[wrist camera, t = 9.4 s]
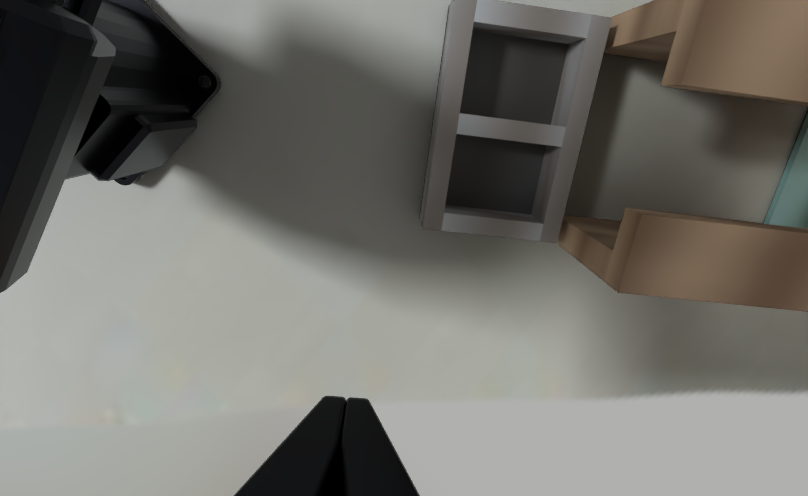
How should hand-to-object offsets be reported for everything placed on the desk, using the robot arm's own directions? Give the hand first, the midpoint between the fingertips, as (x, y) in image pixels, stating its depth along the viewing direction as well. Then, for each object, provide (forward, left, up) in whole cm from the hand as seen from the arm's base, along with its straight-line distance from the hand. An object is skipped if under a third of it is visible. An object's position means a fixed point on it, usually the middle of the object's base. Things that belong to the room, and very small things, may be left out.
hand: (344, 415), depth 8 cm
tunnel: (+7, +13, -13) cm, 20 cm away
